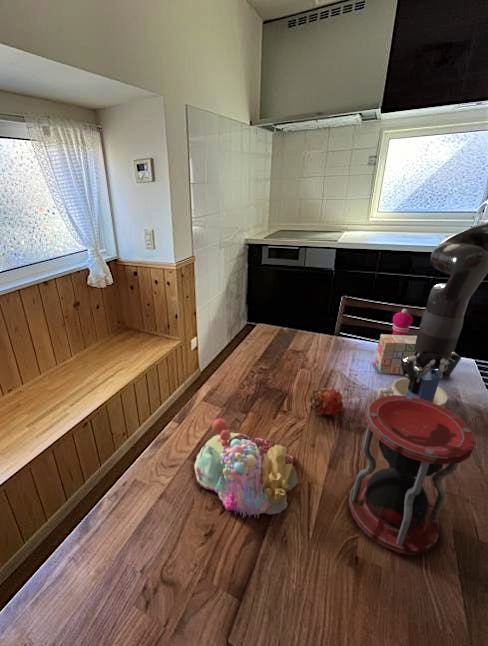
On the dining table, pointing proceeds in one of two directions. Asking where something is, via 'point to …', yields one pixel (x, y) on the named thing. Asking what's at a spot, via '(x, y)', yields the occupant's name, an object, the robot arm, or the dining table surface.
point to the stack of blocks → (395, 352)
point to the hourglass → (407, 471)
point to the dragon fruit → (326, 402)
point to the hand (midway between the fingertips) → (421, 391)
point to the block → (426, 387)
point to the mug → (402, 387)
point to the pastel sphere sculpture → (245, 471)
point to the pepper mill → (401, 322)
